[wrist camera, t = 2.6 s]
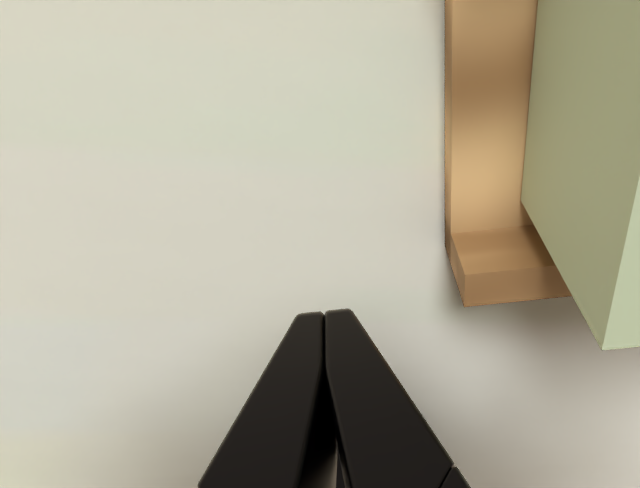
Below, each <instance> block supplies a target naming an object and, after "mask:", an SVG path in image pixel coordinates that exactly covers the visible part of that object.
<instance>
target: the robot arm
mask: <svg viewBox="0 0 640 488" xmlns="http://www.w3.org/2000/svg"><path fill="white" fill-rule="evenodd" d="M198 488H471V487H470V486H469V484H468V483H467V481H466V480H465V478H464V477H463V475H462V474H461V472H460V471H459V469H458V468H457V467H454V462H453V461H452V459H451V458H450V456H449V455H448V453H447V452H446V450H445V449H444V447H443V446H442V444H441V443H440V441H439V440H438V438H437V437H436V435H435V434H434V432H433V431H432V429H431V428H430V426H429V425H428V423H427V422H426V420H425V419H424V417H423V416H422V414H421V413H420V411H419V410H418V408H417V407H416V405H415V404H414V403H413V401H412V400H411V398H410V397H409V395H408V394H407V392H406V391H405V389H404V388H403V386H402V385H401V383H400V382H399V380H398V379H397V377H396V376H395V374H394V373H393V371H392V370H391V368H390V367H389V365H388V364H387V362H386V361H385V359H384V358H383V356H382V355H381V353H380V352H379V350H378V349H377V347H376V346H375V344H374V343H373V341H372V340H371V338H370V337H369V335H368V334H367V332H366V331H365V329H364V328H363V326H362V325H361V323H360V322H359V320H358V319H357V317H356V316H355V314H354V313H353V311H351V310H350V309H339V310H329V311H327V312H326V313H325V315H324V314H323V313H322V312H309V313H301V314H298V315H297V316H296V317H295V319H294V321H293V322H292V324H291V326H290V327H289V329H288V331H287V333H286V334H285V336H284V338H283V339H282V341H281V343H280V345H279V346H278V348H277V350H276V351H275V353H274V355H273V357H272V358H271V360H270V362H269V363H268V365H267V367H266V369H265V370H264V372H263V374H262V375H261V377H260V379H259V380H258V382H257V384H256V386H255V387H254V389H253V391H252V392H251V394H250V396H249V398H248V399H247V401H246V403H245V404H244V406H243V408H242V410H241V411H240V413H239V415H238V416H237V418H236V420H235V422H234V423H233V425H232V427H231V428H230V430H229V432H228V434H227V435H226V437H225V439H224V440H223V442H222V444H221V446H220V447H219V449H218V451H217V452H216V454H215V456H214V457H213V459H212V461H211V463H210V464H209V466H208V468H207V469H206V471H205V473H204V475H203V476H202V478H201V480H200V481H199V483H198Z"/></svg>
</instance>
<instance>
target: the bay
mask: <svg viewBox="0 0 640 488" xmlns="http://www.w3.org/2000/svg"><path fill="white" fill-rule="evenodd" d="M537 6H538V0H445V247H446V250H447V254H448V257H449V260H450V263H451V266H452V270H453V273H454V276H455V279H456V282H457V286H458V289H459V292H460V295H461V298H462V302H463V305H464V307H469V306H478V305H488V304H498V303H508V302H518V301H528V300H537V299H547V298H557V297H567V296H572V294H571V292H570V291H569V289H568V287H567V285H566V283H565V281H564V280H563V278H562V276H561V274H560V272H559V270H558V268H557V267H556V265H555V263H554V261H553V259H552V257H551V255H550V254H549V252H548V250H547V248H546V246H545V244H544V242H543V241H542V239H541V237H540V235H539V233H538V231H537V230H536V228H535V226H534V224H533V222H532V220H531V218H530V217H529V215H528V213H527V211H526V209H525V207H524V205H523V204H522V202H521V192H522V181H523V169H524V157H525V146H526V134H527V122H528V111H529V99H530V88H531V76H532V64H533V53H534V41H535V30H536V18H537Z"/></svg>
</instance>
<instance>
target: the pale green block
mask: <svg viewBox="0 0 640 488" xmlns="http://www.w3.org/2000/svg"><path fill="white" fill-rule="evenodd" d="M521 202H522V204H523V205H524V207H525V209H526V211H527V213H528V215H529V217H530V218H531V220H532V222H533V224H534V226H535V228H536V230H537V231H538V233H539V235H540V237H541V239H542V241H543V242H544V244H545V246H546V248H547V250H548V252H549V254H550V255H551V257H552V259H553V261H554V263H555V265H556V267H557V268H558V270H559V272H560V274H561V276H562V278H563V280H564V281H565V283H566V285H567V287H568V289H569V291H570V292H571V294H572V296H573V298H574V300H575V302H576V304H577V305H578V307H579V309H580V311H581V313H582V315H583V317H584V318H585V320H586V322H587V324H588V326H589V328H590V330H591V331H592V333H593V335H594V337H595V339H596V341H597V342H598V344H599V346H600V348H601V350H612V349H622V348H632V347H640V0H538V6H537V18H536V30H535V41H534V53H533V64H532V76H531V88H530V99H529V111H528V122H527V134H526V146H525V157H524V169H523V181H522V192H521Z"/></svg>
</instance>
